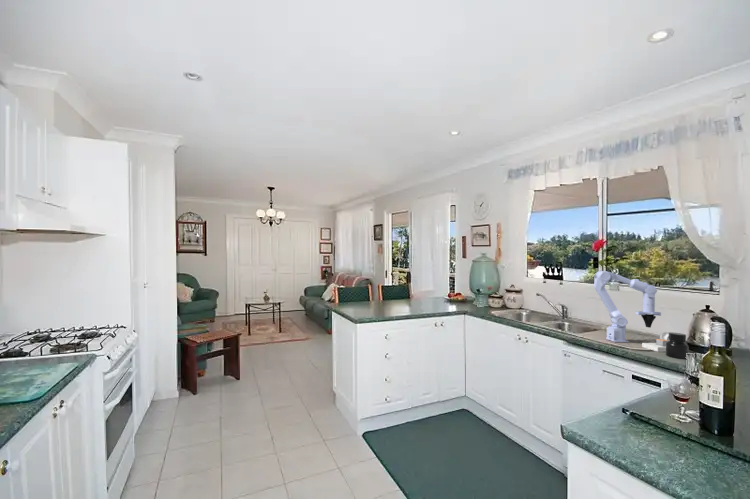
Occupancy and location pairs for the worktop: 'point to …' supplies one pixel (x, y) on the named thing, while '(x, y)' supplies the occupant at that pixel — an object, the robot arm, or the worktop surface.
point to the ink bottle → (677, 346)
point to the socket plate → (654, 347)
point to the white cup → (665, 336)
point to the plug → (661, 342)
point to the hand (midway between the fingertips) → (648, 327)
